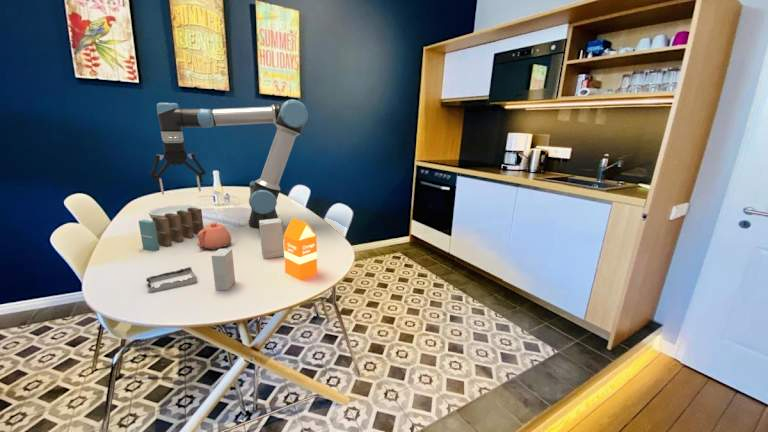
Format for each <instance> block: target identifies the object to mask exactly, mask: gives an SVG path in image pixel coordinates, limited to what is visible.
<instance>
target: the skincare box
mask: <svg viewBox="0 0 768 432" xmlns="http://www.w3.org/2000/svg"><path fill="white" fill-rule="evenodd" d="M233 255H234V254H233V249H232V248H217V249H216V251H215V252H214V253H213V254H212V255H211V262H212V271H213V279H214V287H215V291H229V290H230V288H232V286H233V285H234V283H235V282H236V278H235V277H236V276H235V275H236V274H235V267H234V266H235V265H234V264H235V263H234V256H233Z"/></svg>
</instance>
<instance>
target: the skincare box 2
mask: <svg viewBox="0 0 768 432" xmlns="http://www.w3.org/2000/svg"><path fill="white" fill-rule="evenodd" d="M259 227H260V229H259V233H260V234H259V235H260V247H261V254H262V259H263V260H266V259H267V260H268V259H273V258H279V257H284V233H283V232H284V231H283V222H282V220H281V217H278V218H276V219H267V220H259Z"/></svg>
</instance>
